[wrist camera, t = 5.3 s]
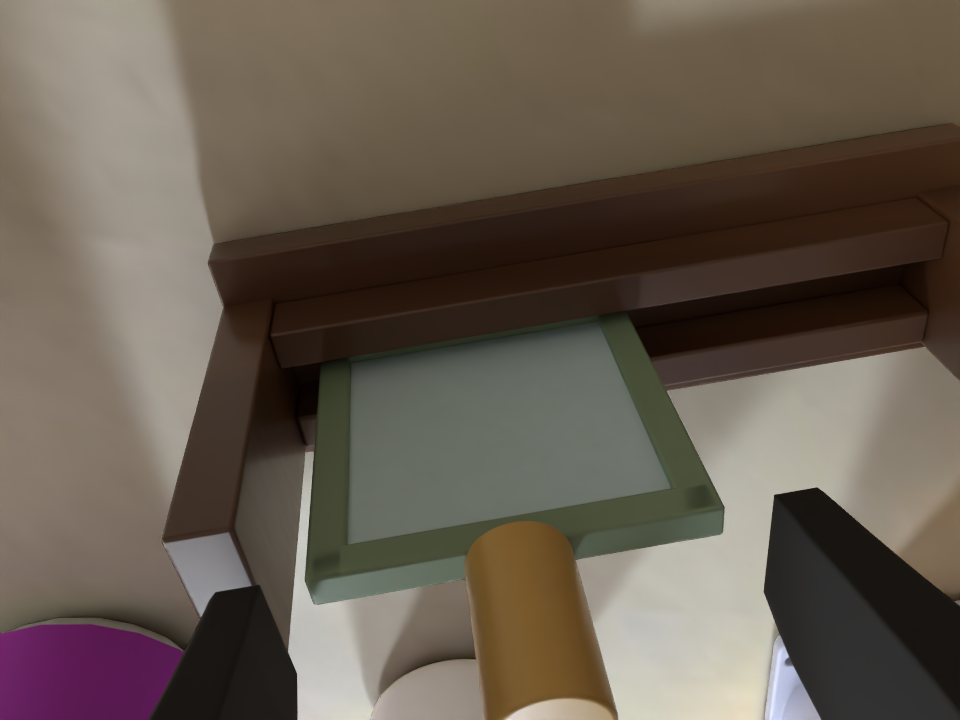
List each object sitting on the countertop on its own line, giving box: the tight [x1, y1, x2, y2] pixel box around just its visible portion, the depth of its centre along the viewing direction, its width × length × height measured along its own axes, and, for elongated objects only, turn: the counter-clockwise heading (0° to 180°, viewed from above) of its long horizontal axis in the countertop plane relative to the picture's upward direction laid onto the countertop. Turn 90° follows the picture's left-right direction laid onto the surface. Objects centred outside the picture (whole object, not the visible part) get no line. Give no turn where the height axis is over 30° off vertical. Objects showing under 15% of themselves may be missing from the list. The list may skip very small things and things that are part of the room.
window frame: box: [161, 123, 960, 651], centre depth 15 cm, size 5×15×7 cm, turn 97°
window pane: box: [305, 311, 725, 720], centre depth 14 cm, size 2×6×9 cm, turn 97°
